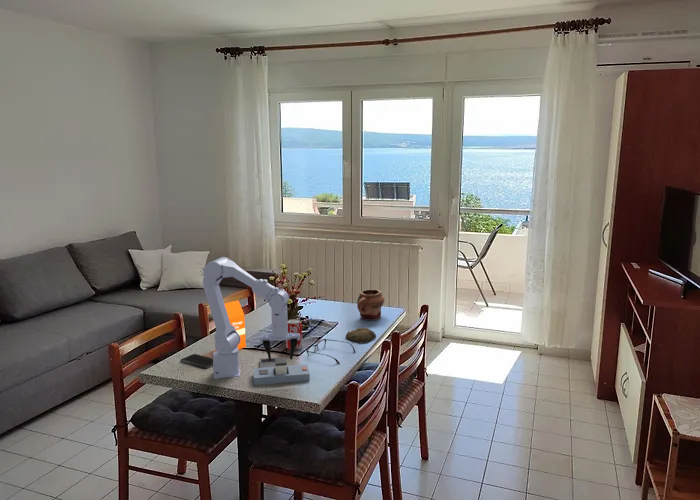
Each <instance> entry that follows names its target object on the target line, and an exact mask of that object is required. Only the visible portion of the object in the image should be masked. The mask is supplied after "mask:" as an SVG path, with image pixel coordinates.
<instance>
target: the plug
mask: <svg viewBox="0 0 700 500" xmlns="http://www.w3.org/2000/svg"><path fill="white" fill-rule="evenodd" d="M274 358H275V375H283V374H287V366H288V365H287V357H283V358H279V357H274Z"/></svg>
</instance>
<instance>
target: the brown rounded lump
mask: <svg viewBox="0 0 700 500" xmlns="http://www.w3.org/2000/svg"><path fill="white" fill-rule="evenodd" d="M376 336H377V334H376V333H375V332H374V331H373V330H371V329H370V328H367V327H358V328H357V329H353V330H351V331H347V333H346V335H345V337H346V338H347V339H348V340H349V341H352V342H355V343H360V344H365V343H369V342H372V341H373V340H375V339H376Z"/></svg>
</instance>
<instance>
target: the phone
mask: <svg viewBox="0 0 700 500" xmlns="http://www.w3.org/2000/svg"><path fill="white" fill-rule="evenodd" d="M180 363H183V364H186V365H189V366H193V367H197V368H200V369H203V370H208V369H210V368H213V357H208V356H205V355H201V354H197V353H194V354H190V355H188V356H186V357H183V358H180Z"/></svg>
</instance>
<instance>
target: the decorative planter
mask: <svg viewBox="0 0 700 500" xmlns="http://www.w3.org/2000/svg"><path fill="white" fill-rule="evenodd" d="M384 304H385V297H384V296H383V294H382V291H381V289H380V290H379V289H365V290H362V291H360V293H359V295H358V298H357V301H356V305H357V307H356V308H357V310H358V312H359V316H360V318H361V319H363V320H366V321H376V320H378V319H381V318H382V306H383V305H384Z"/></svg>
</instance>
